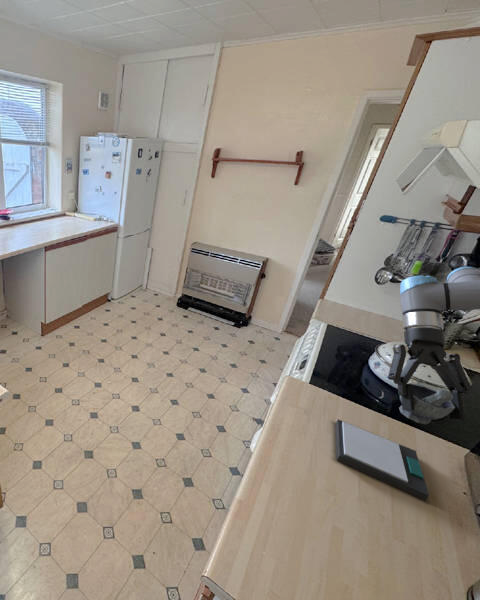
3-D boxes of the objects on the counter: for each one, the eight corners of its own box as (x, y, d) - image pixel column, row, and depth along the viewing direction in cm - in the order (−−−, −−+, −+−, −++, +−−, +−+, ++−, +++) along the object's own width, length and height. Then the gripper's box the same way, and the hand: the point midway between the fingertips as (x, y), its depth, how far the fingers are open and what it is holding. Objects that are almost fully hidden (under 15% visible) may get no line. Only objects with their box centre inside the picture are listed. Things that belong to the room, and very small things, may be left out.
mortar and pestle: (387, 396, 92) (410, 363, 87) (431, 411, 88) (457, 377, 83) (397, 422, 83) (423, 387, 78) (446, 439, 79) (476, 403, 74)
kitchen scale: (411, 455, 91) (416, 449, 89) (424, 500, 79) (430, 494, 77) (335, 423, 99) (338, 417, 98) (336, 460, 87) (340, 453, 86)
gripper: (457, 341, 89) (469, 424, 83) (367, 326, 93) (371, 405, 87) (486, 335, 82) (502, 425, 76) (387, 319, 86) (393, 404, 80)
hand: (432, 414), depth 81 cm, fingers closed on mortar and pestle, 10 cm apart
